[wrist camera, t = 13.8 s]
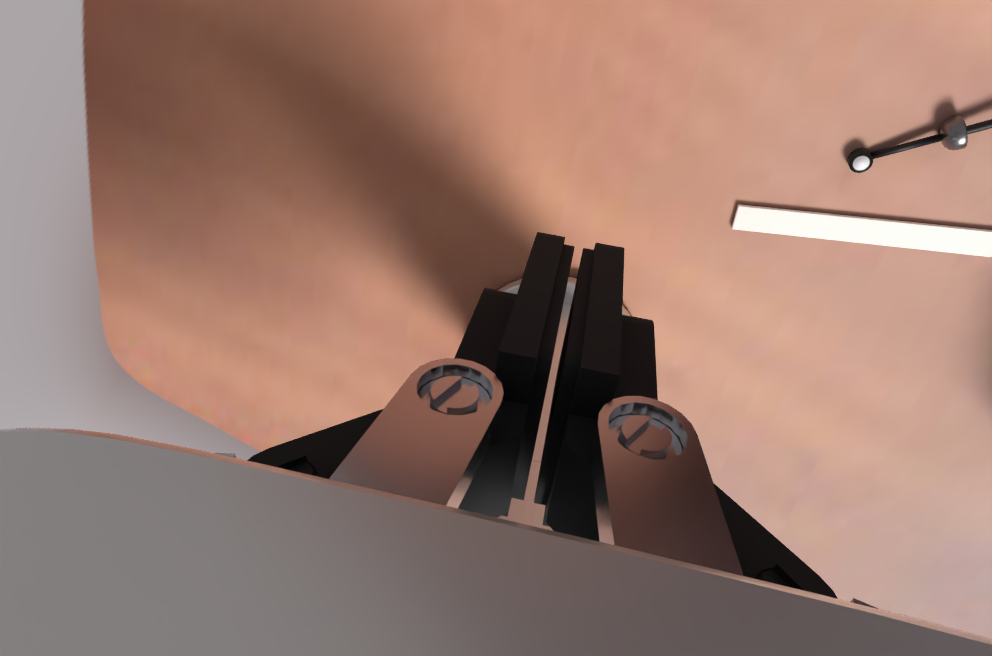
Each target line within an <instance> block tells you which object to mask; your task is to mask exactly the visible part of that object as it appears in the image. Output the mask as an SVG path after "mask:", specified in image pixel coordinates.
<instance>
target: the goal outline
mask: <svg viewBox="0 0 992 656" xmlns="http://www.w3.org/2000/svg"><path fill="white" fill-rule="evenodd" d="M732 229H736V230H745V231H754V232H764V233H773V234H782V235H791V236H801V237H810V238H819V239H828V240H838V241H847V242H856V243H865V244H875V245H884V246H893V247H903V248H912V249H921V250H930V251H940V252H949V253H958V254H967V255H977V256H986V257H992V230H986V229H976V228H966V227H957V226H947V225H937V224H927V223H917V222H907V221H898V220H888V219H878V218H868V217H858V216H849V215H839V214H829V213H819V212H809V211H800V210H790V209H780V208H770V207H760V206H750V205H741V204H738V206H737V210H736V213H735V217H734V220H733V224H732Z"/></svg>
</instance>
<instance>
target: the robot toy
mask: <svg viewBox="0 0 992 656" xmlns="http://www.w3.org/2000/svg"><path fill="white" fill-rule="evenodd" d="M990 128H992V119H991V120H987V121H984V122H980V123H976V124H973V125H969V126H966V124H965V121H964V119H963V118H962V116H959V115H958V116H954V117H952V118H949V119H948V120H946V121H945V122H944V123H943V124H942V126H941V129H940V134H938V135H934V136H930V137H927V138H923V139H919V140H916V141H912V142H908V143H904V144H901V145H897V146H893V147H890V148H886V149H882V150H879V151H875V152H871V153H869V151H868V150H867V149H864V148H859V149H856V150H854V151H853V152H851V153H850V155H849V156H848V159H847V162H848V165H849V167H850V169H851V170H852V171H854V172H857V173H861V172H864V171H866V170H868V169H869V168H870V167H871V166H872V163H873V159H875V158H879V157H883V156H886V155H890V154H894V153H898V152H902V151H905V150H909V149H913V148H917V147H920V146H924V145H928V144H932V143H935V142H939V141H941V142H942V144H943V145H944V147H946V148H947V149H949V150H959V149H963V148H965V147H966V146H967V134H971V133H975V132H979V131H982V130H986V129H990Z"/></svg>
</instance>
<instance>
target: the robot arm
mask: <svg viewBox="0 0 992 656" xmlns="http://www.w3.org/2000/svg"><path fill="white" fill-rule="evenodd" d="M564 240H565V237H561V236H556V235H551V234H545V233H540V232H537V235H536V238H535V241H534V244H533V247H532V250H531V253H530V256H529V259H528V262H527V265H526V268H525V271H524V274H523V277H522V279H520V280H517V281H514V282H511V283H509V284H507V285H505V286H504V287H502V288H501V289H499V290H493V289H488V288H485V289H484V291H483V293H482V295H481V297H480V300H479V302H478V304H477V307H476V309H475V311H474V314H473V316H472V318H471V321H470V323H469V325H468V328H467V330H466V332H465V335H464V337H463V339H462V342H461V344H460V346H459V349H458V351H457V354H456V356H455V358H454V359H451V358H445V359H440V360H435V361H431V362H429V363H426V364H424V365H422V366H420V367H419V368H418V369H416V370H415V371H414V372H413V373H412V374H411V375H410V376H409V378H408V379H407V380H406V381H405V383H404V384H403V385H402V386H401V388H400V389H399V390H398V392H397V393H396V394H395V395H394V397H393V398H392V399H391V400H390V402H389V403H388V404H387V406H386V407H385V408H384V409H382V410H379V411H376V412H373V413H370V414H367V415H364V416H362V417H359V418H356V419H353V420H350V421H347V422H344V423H341V424H338V425H335V426H332V427H330V428H327V429H324V430H321V431H318V432H315V433H312V434H309V435H306V436H303V437H300V438H298V439H295V440H292V441H289V442H286V443H283V444H280V445H277V446H274V447H271V448H269V449H267V450H264V451H262V452H260V453H258V454H256V455H254V456H252V457H251V458H250V459H249V460H242V459H237V458H236V456H235V454H228V453H227V454H226V453H210V452H206V451H201V450H196V449H191V448H186V447H181V446H175V445H170V444H165V443H159V442H154V441H149V440H144V439H138V438H133V437H128V436H122V435H116V434H109V433H100V432H92V431H83V430H74V429H51V428H16V429H2V430H0V656H992V639H990V638H986V637H983V636H979V635H975V634H972V633H968V632H964V631H961V630H957V629H953V628H950V627H946V626H942V625H939V624H935V623H932V622H928V621H924V620H921V619H917V618H913V617H909V616H905V615H901V614H897V613H893V612H889V611H885V610H880V609H878V608H876V607H873V606H871V605H869V604H866V603H864V602H862V601H859V600H857V599H855V598H853V600H852V601H851V602H848V601H844V600H840V599H838V598H837V596H836V595H835V593H834V592H833V590H832V589H831V588H830V587H829V586H828V585H827V584H826V583H825V582H824V581H823V580H822V579H821V577H820V576H819V575H818V574H816V573H815V572H814V571H813V570H812V569H811V568H810V567H808V566H807V565H806V564H805V563H804V562H803V561H802V560H801V559H799V558H798V557H797V556H796V555H795V554H794V553H793V552H791V551H790V550H789V549H788V548H787V547H786V546H785V545H783V544H782V543H781V542H780V541H779V540H778V539H777V538H775V537H774V536H773V535H772V534H771V533H770V532H769V531H767V530H766V529H765V528H764V527H763V526H762V525H761V524H759V523H758V522H757V521H756V520H755V519H754V518H753V517H752V516H750V515H749V514H748V513H747V512H746V511H745V510H744V509H742V508H741V507H740V506H739V505H738V504H737V503H736V502H734V501H733V500H732V499H731V498H730V497H729V496H728V495H726V494H725V493H724V492H723V491H722V490H721V489H720V488H718V487H717V486H716V485H715V484H714V483H713V481H712V477H711V474H710V471H709V468H708V465H707V462H706V459H705V456H704V453H703V450H702V447H701V444H700V441H699V438H698V435H697V433H696V431H695V429H694V427H693V426H692V424H691V423H690V422H689V421H688V420H687V419H686V417H685V416H684V415H683V414H682V413H680V412H679V411H677V410H676V409H674V408H673V407H671V406H670V405H668V404H665V403H663V402H660V401H658V399H657V379H656V358H655V338H654V323H653V321H652V320H647V319H642V318H637V317H632V316H631V315H630V314H629V312H628V311H627V310H626V309H625V308H624V306H623V305H622V302H623V272H624V248H622V247H616V246H611V245H605V244H600V243H596V244H595V248H594V250H591V249H585V248H583V252H582V257H581V261H580V266H579V271H578V275H577V278H573V277H569V272H570V267H571V262H572V257H573V252H574V246H569V245H564Z"/></svg>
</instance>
